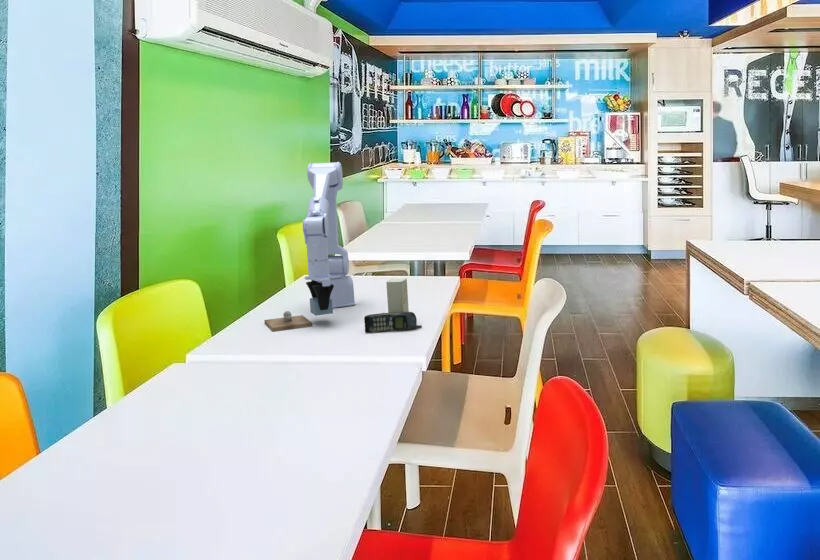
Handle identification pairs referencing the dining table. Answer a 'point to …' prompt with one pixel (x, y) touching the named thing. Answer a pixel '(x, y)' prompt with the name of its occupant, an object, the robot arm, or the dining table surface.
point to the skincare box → (397, 295)
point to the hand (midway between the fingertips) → (321, 307)
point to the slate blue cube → (316, 310)
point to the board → (288, 322)
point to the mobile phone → (390, 322)
